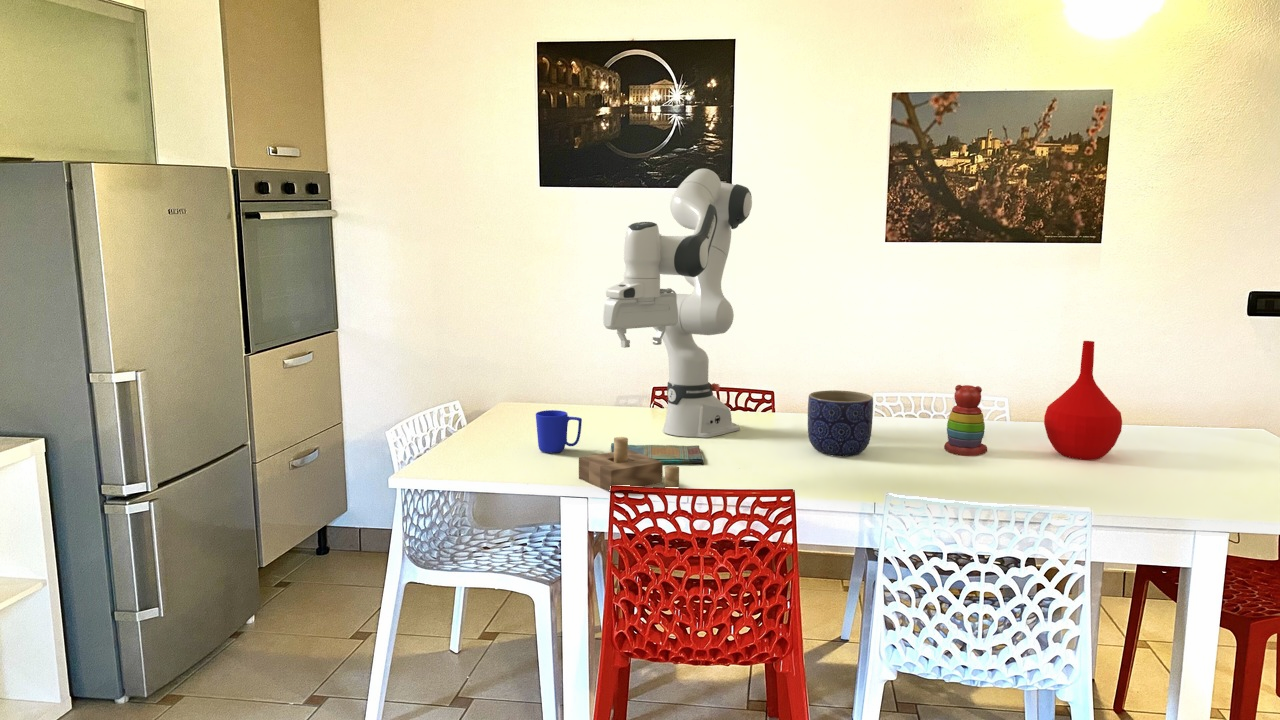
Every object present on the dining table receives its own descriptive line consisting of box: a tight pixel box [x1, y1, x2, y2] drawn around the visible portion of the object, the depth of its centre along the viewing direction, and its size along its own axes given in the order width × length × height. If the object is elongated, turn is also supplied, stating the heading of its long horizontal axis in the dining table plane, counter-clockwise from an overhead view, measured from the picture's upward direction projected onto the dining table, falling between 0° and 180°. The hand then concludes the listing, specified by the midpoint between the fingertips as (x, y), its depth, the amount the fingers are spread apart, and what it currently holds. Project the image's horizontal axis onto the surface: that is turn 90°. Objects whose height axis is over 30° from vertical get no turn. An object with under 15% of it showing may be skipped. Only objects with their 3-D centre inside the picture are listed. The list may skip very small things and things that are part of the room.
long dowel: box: [613, 436, 629, 463], centre depth 225 cm, size 3×3×10 cm
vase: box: [1043, 340, 1123, 461], centre depth 250 cm, size 18×18×30 cm
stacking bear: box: [943, 384, 988, 457], centre depth 254 cm, size 11×10×18 cm
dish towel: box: [610, 442, 705, 466], centre depth 248 cm, size 17×23×2 cm
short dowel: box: [664, 465, 680, 488], centre depth 219 cm, size 3×3×5 cm
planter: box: [807, 389, 874, 457], centre depth 253 cm, size 17×16×15 cm
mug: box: [535, 409, 583, 454], centre depth 252 cm, size 8×12×10 cm
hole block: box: [578, 450, 664, 492], centre depth 225 cm, size 14×14×5 cm
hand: (641, 345), depth 239 cm, fingers open, 8 cm apart
